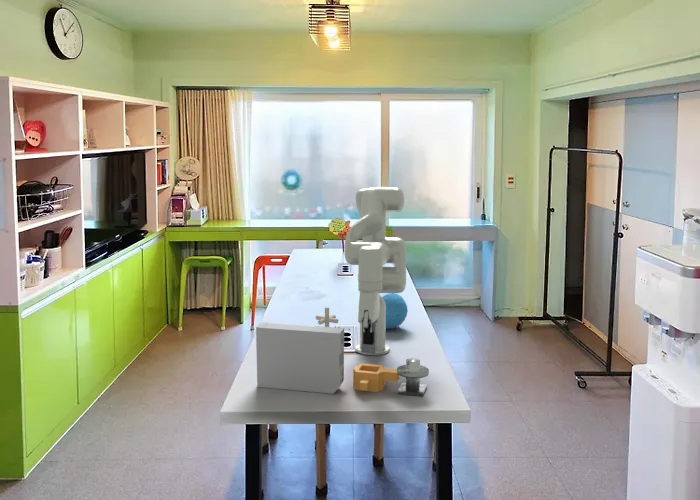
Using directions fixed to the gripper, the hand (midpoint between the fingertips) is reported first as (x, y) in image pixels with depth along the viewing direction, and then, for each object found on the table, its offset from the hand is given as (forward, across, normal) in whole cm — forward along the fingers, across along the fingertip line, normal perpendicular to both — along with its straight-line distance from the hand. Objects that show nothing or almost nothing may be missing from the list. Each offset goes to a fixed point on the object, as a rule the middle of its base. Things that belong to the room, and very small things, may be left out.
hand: (369, 342), depth 219 cm
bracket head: (+15, +1, +2) cm, 15 cm away
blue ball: (+14, -66, -8) cm, 68 cm away
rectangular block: (+3, 0, 0) cm, 3 cm away
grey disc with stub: (+15, -1, +14) cm, 20 cm away
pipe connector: (+14, -54, -30) cm, 63 cm away
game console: (+15, +6, -21) cm, 27 cm away
